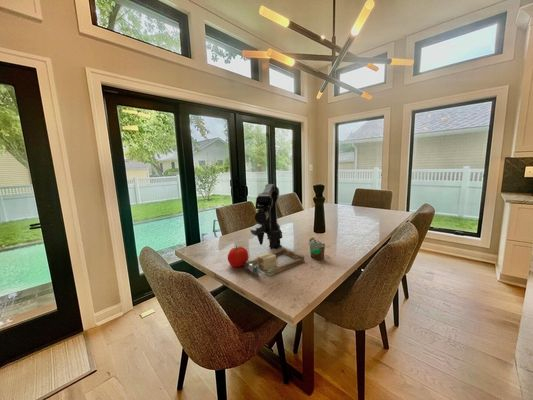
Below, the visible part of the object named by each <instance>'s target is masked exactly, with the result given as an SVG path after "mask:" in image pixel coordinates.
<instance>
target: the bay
mask: <svg viewBox="0 0 533 400" xmlns="http://www.w3.org/2000/svg"><path fill="white" fill-rule="evenodd" d="M280 248H281V249H280V250H277V251H274V252H271V253H272V254H274V255H276V257H277V256H280V255H285V256H288V257H290V258H291V259H292V258H293V259H294V260H292V261H290V262H287V263H284V264H282V265H280V266H278V267H277V266H275V267H272V268H270V269H267V270H266V272H264V271H262V269H261V270H260V269H259V270H258V272H259V273H262V274H263V275H264V276H265V275H267V276H268V277H271V276H273V275H276V274H278V273H280V272H283V271H285V270H288V269H290V268H293V267H294V266H297V265H300V264H302V263H304V262H305V256H304V255H301V254H299V253H297V252H295V251H292V250H290V249H287V248H285V247H280ZM249 262H250V263H252V264H253V265H255V264H256V265H258V257H256V258H253V259H250V260H249Z"/></svg>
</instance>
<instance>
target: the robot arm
mask: <svg viewBox="0 0 533 400" xmlns="http://www.w3.org/2000/svg"><path fill="white" fill-rule="evenodd" d="M279 196H280V189H279V187H277V186H276V185H275V184H273V183H267V184H265V187H264V190H263V191H262V192H261V193H258V195H257V197H256V199H255V206H254V207H255V210H258V211H257V212H256V213H255V215H254V220H255V222H256V224H254V225H253V226H252V227H250V228H249V230H250V233H251V235H253V236H255V237H257V240H258V242H259V245H263V243H264V237H265V234H266V238H267V240H268V242H269V245H268V247H269V249H270V250H273V249H278V248H282V247H283V245H282V244H281V239H283V231H282V230H281V226H280V224H279V223H278V212H277V211H278V209H277V208H278V207H277V201H278V200H279Z"/></svg>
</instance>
